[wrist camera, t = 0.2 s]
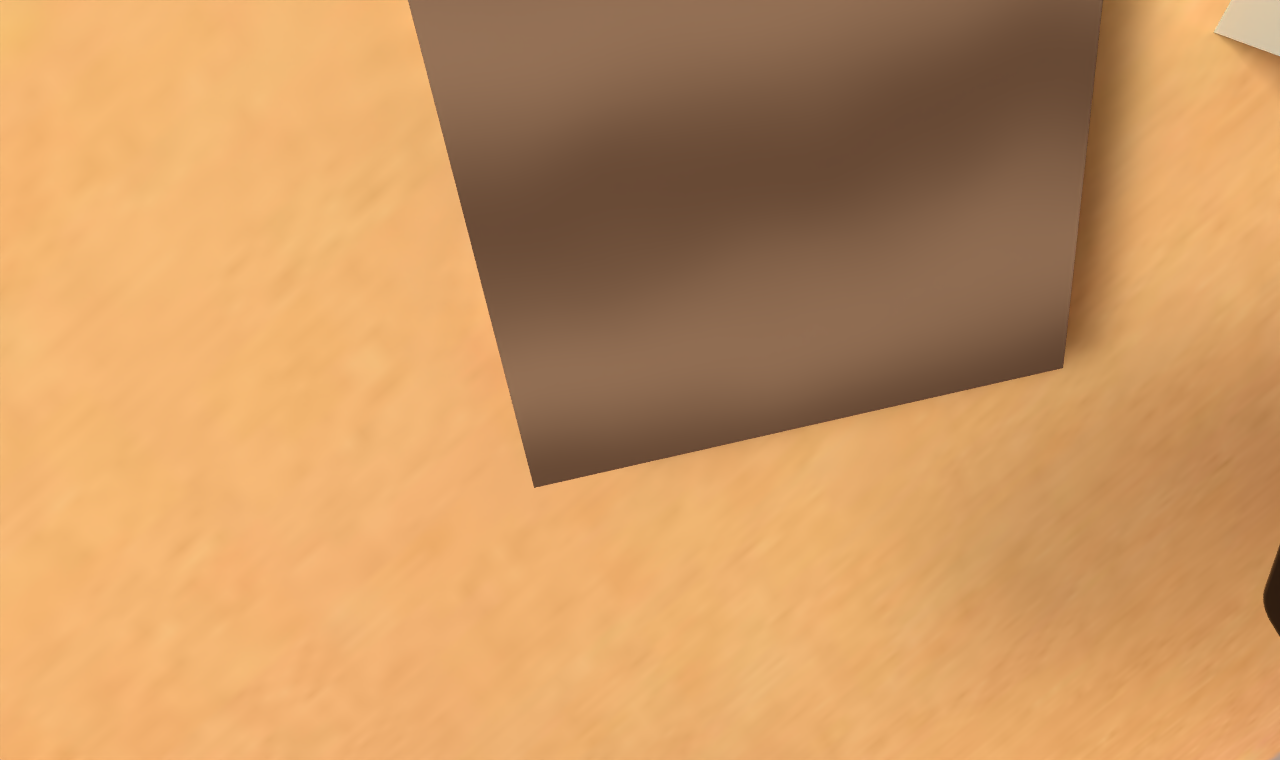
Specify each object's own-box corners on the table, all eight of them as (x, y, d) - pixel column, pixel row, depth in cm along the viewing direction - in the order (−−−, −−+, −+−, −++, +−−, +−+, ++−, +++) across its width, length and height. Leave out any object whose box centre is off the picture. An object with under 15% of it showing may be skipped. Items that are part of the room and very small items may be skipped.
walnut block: (989, 296, 25) (1062, 367, 23) (521, 398, 25) (533, 487, 22) (1022, -264, 19) (1131, -264, 16) (382, -150, 18) (374, -129, 15)
